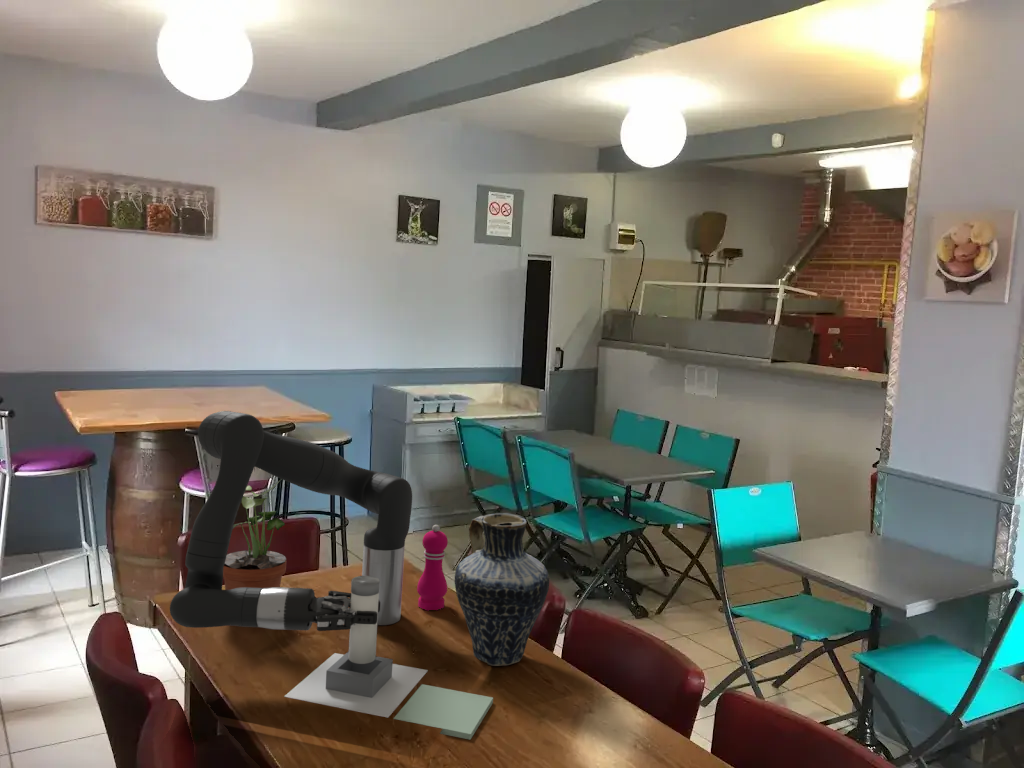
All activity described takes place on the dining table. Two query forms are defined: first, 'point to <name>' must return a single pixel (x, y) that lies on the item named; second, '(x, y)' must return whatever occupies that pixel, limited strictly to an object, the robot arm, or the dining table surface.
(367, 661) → the cartridge
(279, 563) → the potted plant
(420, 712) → the mat
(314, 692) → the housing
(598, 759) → the dining table surface
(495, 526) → the jug
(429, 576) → the pepper mill
